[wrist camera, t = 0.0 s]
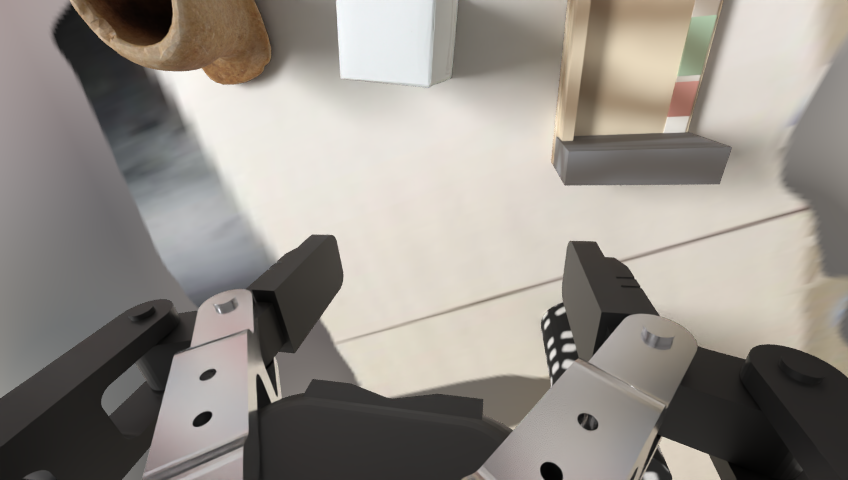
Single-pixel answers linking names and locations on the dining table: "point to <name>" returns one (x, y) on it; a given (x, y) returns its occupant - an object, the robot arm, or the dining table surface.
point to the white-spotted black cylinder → (564, 354)
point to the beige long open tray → (635, 93)
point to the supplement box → (397, 40)
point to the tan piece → (184, 35)
